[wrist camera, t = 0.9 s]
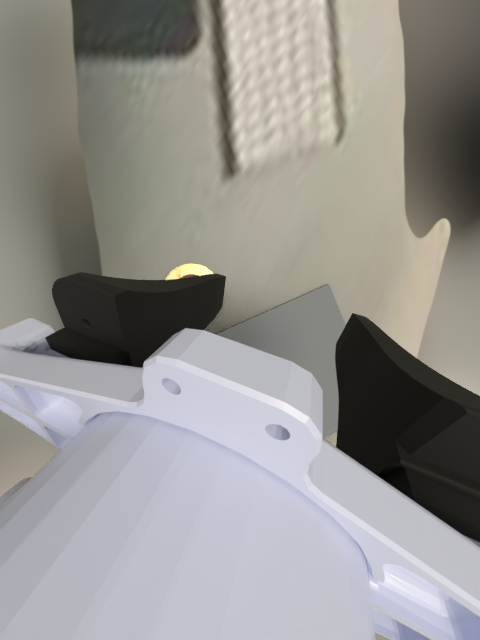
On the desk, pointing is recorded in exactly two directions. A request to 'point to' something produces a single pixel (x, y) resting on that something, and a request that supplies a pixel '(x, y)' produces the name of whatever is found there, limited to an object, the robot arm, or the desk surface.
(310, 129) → the desk surface
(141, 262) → the desk surface
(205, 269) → the wooden link ring
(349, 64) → the desk surface
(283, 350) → the grey square plate
